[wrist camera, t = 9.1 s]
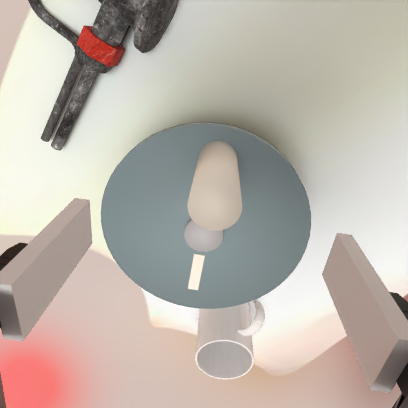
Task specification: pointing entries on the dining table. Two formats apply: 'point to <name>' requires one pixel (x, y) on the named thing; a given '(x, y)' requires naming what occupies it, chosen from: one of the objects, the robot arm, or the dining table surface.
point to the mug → (227, 340)
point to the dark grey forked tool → (102, 49)
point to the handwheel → (206, 216)
